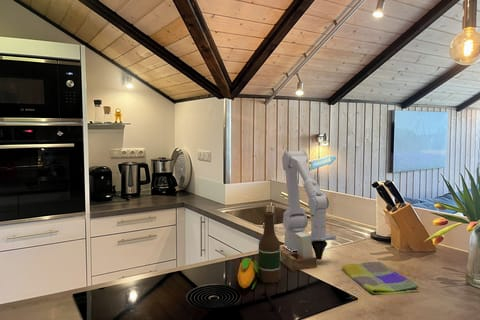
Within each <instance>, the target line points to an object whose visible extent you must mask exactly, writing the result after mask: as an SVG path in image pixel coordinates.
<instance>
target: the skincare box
mask: <svg viewBox="0 0 480 320" xmlns="http://www.w3.org/2000/svg"><path fill="white" fill-rule="evenodd" d="M295 237H296V246H297V254H298V259H304V258H313V257H314V254H313V252H314V251H313V247H312V243H311V234H309V233H308V232H306V231H303V232H299V233H295Z"/></svg>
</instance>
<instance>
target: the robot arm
mask: <svg viewBox="0 0 480 320" xmlns="http://www.w3.org/2000/svg"><path fill="white" fill-rule="evenodd" d="M281 160H282V161H281V163H282V170H283V171H285V179H286V180H285V181H286V190H287V202H288V208H287V209H286V210H285V211H284V212H283V219H282V225H283V227H284V229H285V231H284V245H285V246H287V248H288V249H290V250H289V251H288V252H290V251H291V252H290V253H294V252H293V251H297V246H296V237H295V233H299V232H304V231H305V230H306V228H307V227H308V223H309V222H308V218H307V213H306V212H307V211H306V210H304V208H301V201H300V189H299V180H298V173H299V174H300V176H301V178H302V180H303V182H304V183H303V188H304V190H305V193H306V196H307V198H308V202H307V205H308V208H309V214H310V215H311V216H310V222H311V223H310V227H311V229H310V231H311V232H310V235H311V243H312V250H313V252H314V256H315V257H316V258H317V261H320V260H322V258H323V254H324V251H325V249H326V247H327V246H328V241H336V240H337V235H336V234H334V233H330V234H327V209H328V208H329V207H330V200H329V197H328V196H327V195H326V194H325V193H324V192H322V191H321V188H320V186H319V184H318V181H317V180H316V179H313V176H312V174H311V171H310V168H309V166H308V163H309V156H308V153H307V152H306V150H297V151H296V150H295V151H294V150H289V151H288V150H286V151H284V153H283V154H282V158H281Z"/></svg>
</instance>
